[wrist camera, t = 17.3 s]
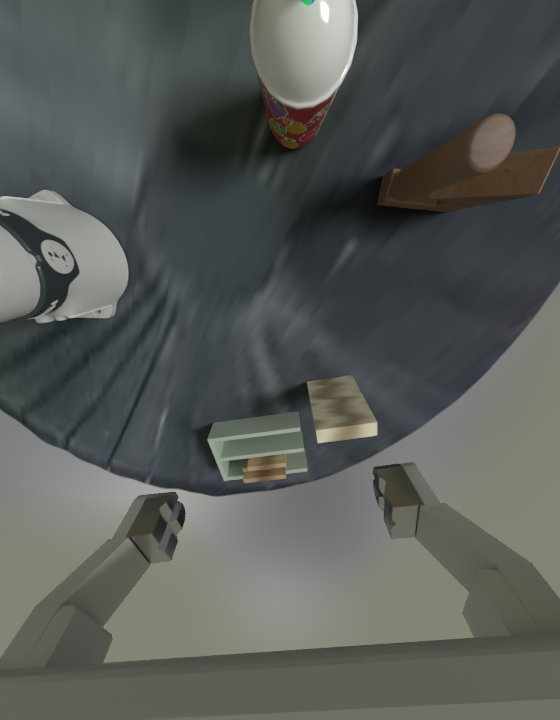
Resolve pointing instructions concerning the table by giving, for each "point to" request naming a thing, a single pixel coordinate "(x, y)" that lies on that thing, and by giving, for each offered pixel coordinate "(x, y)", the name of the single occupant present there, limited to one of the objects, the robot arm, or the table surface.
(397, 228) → the table surface
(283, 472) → the offcut stack
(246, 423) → the rack
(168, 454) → the table surface
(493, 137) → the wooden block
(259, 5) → the smoothie
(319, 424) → the beige brown rectangular slab
